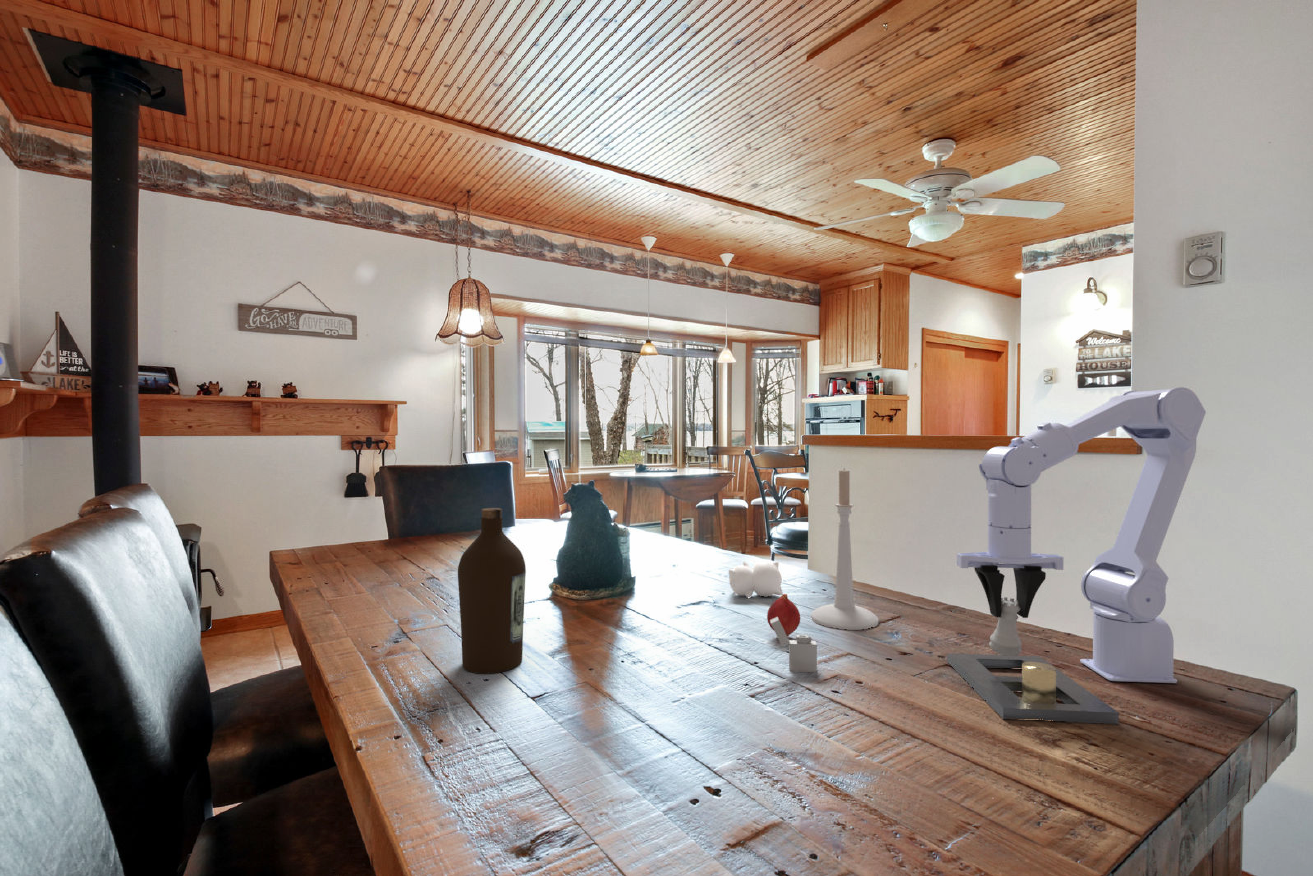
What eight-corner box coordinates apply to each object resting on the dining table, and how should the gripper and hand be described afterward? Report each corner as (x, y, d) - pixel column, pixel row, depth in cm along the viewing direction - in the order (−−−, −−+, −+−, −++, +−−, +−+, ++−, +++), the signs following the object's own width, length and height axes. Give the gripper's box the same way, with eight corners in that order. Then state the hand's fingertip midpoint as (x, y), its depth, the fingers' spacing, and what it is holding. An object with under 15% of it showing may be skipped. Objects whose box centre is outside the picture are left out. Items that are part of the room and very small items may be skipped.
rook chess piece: (1025, 659, 93) (1029, 608, 92) (992, 655, 95) (995, 604, 93) (1017, 645, 97) (1021, 596, 96) (985, 641, 99) (989, 593, 97)
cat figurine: (727, 555, 141) (781, 553, 141) (724, 572, 150) (774, 570, 150) (731, 593, 136) (786, 591, 136) (727, 608, 145) (779, 606, 145)
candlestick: (885, 616, 126) (885, 467, 126) (869, 634, 115) (869, 471, 115) (822, 607, 133) (822, 465, 133) (801, 623, 122) (801, 469, 122)
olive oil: (450, 676, 96) (448, 513, 96) (468, 652, 107) (467, 505, 106) (519, 675, 96) (518, 513, 96) (531, 651, 107) (530, 504, 107)
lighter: (815, 667, 99) (815, 617, 99) (817, 672, 97) (817, 620, 97) (769, 666, 100) (769, 616, 100) (770, 670, 98) (770, 619, 98)
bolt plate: (1039, 665, 100) (1039, 634, 100) (1118, 724, 80) (1118, 685, 80) (947, 662, 101) (947, 631, 101) (1003, 719, 81) (1003, 681, 81)
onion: (764, 640, 112) (764, 596, 112) (770, 631, 117) (770, 588, 117) (797, 644, 110) (797, 599, 110) (802, 634, 115) (802, 591, 115)
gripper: (1046, 522, 98) (1046, 609, 98) (949, 521, 99) (949, 607, 99) (1071, 529, 91) (1071, 623, 91) (966, 528, 92) (966, 620, 92)
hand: (1009, 615), depth 95 cm, fingers closed on rook chess piece, 3 cm apart
